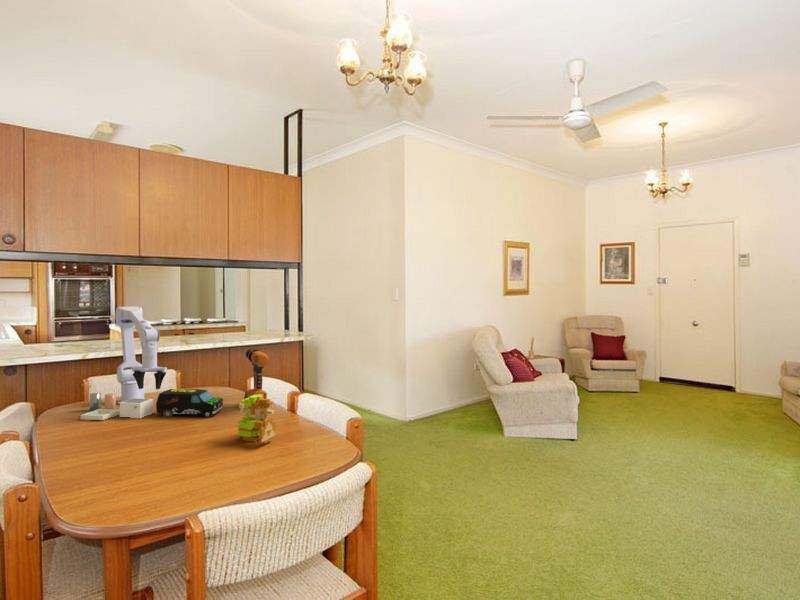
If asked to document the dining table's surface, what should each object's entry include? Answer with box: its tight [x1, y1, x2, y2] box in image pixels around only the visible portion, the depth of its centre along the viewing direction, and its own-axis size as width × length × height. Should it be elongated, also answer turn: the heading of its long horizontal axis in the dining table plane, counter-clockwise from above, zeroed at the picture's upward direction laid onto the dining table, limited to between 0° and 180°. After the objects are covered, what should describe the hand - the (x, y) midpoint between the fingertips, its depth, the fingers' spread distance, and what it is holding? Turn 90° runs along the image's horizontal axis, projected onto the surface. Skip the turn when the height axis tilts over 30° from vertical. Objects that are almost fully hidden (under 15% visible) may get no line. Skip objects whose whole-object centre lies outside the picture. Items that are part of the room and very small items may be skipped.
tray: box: [80, 408, 120, 421], centre depth 189 cm, size 10×10×2 cm
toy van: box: [155, 388, 224, 419], centre depth 195 cm, size 11×25×10 cm, turn 90°
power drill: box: [243, 348, 270, 400], centre depth 213 cm, size 22×7×25 cm, turn 35°
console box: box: [119, 398, 154, 419], centre depth 192 cm, size 8×9×6 cm
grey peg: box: [89, 392, 102, 412], centre depth 200 cm, size 4×4×7 cm
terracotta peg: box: [104, 393, 117, 410], centre depth 199 cm, size 4×4×7 cm
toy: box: [237, 394, 276, 444], centre depth 164 cm, size 15×14×15 cm
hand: (149, 388), depth 199 cm, fingers open, 7 cm apart
